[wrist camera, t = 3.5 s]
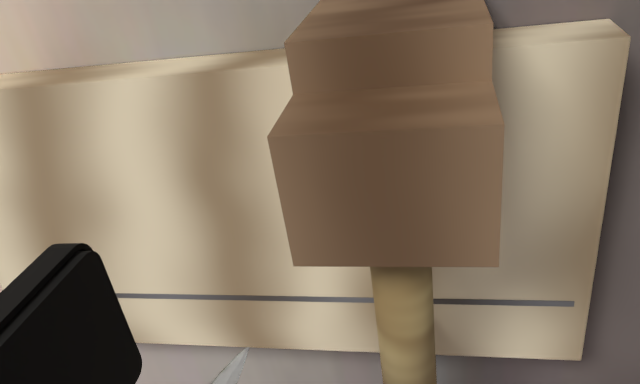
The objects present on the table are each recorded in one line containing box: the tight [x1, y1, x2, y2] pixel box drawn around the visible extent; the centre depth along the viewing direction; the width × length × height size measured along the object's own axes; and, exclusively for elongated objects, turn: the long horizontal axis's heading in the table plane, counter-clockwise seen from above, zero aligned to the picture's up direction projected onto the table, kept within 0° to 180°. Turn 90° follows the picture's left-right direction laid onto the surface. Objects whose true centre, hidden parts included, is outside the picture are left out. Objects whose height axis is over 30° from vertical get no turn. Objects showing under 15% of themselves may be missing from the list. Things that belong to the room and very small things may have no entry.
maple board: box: [0, 19, 631, 361], centre depth 20 cm, size 24×12×2 cm, turn 98°
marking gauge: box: [267, 0, 505, 384], centre depth 16 cm, size 4×13×8 cm, turn 8°
